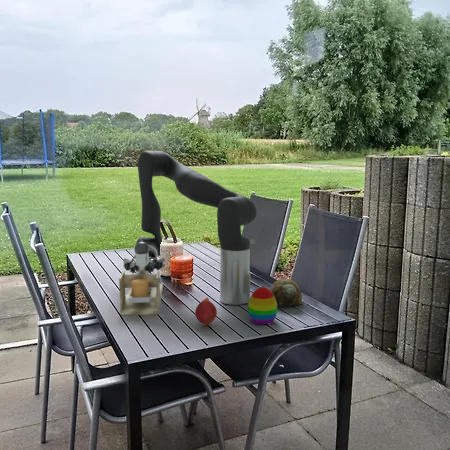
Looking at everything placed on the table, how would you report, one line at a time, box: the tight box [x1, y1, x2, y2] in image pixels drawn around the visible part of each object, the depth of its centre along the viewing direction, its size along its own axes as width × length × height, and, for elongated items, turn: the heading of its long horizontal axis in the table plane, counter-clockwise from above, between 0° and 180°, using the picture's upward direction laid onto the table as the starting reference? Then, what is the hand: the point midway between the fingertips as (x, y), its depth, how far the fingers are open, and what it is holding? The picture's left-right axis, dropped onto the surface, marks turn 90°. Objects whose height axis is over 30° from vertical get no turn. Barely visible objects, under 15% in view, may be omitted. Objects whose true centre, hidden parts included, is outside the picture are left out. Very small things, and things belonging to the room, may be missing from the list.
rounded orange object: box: [131, 279, 149, 297], centre depth 135 cm, size 5×5×4 cm
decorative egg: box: [247, 286, 278, 325], centre depth 128 cm, size 8×8×10 cm
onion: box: [194, 297, 218, 327], centre depth 125 cm, size 6×6×8 cm
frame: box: [118, 270, 164, 316], centre depth 145 cm, size 11×26×11 cm, turn 5°
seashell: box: [269, 277, 303, 308], centre depth 143 cm, size 11×9×8 cm
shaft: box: [129, 242, 153, 303], centre depth 138 cm, size 6×13×16 cm, turn 5°
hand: (141, 270), depth 140 cm, fingers open, 4 cm apart
